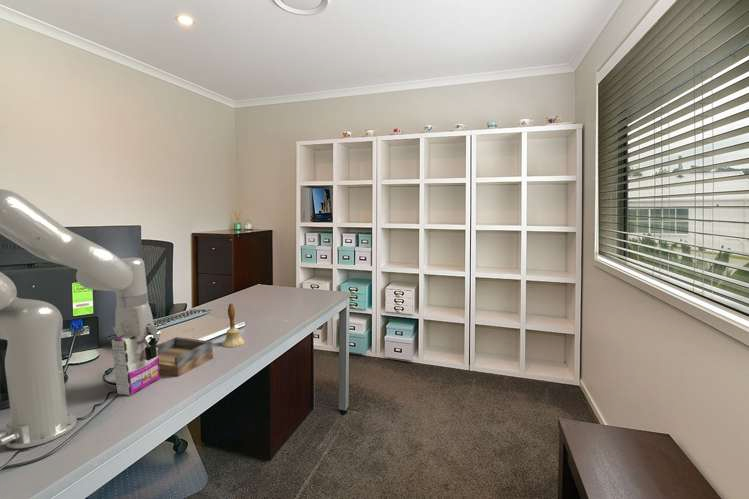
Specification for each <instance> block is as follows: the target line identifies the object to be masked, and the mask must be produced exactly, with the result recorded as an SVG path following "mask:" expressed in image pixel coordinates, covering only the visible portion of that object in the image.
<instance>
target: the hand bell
mask: <svg viewBox="0 0 749 499" xmlns="http://www.w3.org/2000/svg"><path fill="white" fill-rule="evenodd" d="M235 309H236V308H235V307H234V305H233V303H229V304H228V308H227V315H228V318H229V329H227V330H226V336H225V338H224V339H225V340H224V341H223V342H222V343H221V346H222V347H223V348H235V347H240V346H242V345H244V344H245V342H246V341H245V339H243V338H242V337H241V334H240V330H239V329H238V328H236V325H235V317H236V310H235Z"/></svg>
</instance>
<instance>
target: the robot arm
mask: <svg viewBox="0 0 749 499" xmlns="http://www.w3.org/2000/svg"><path fill="white" fill-rule="evenodd" d="M0 235H1V236H3V237H5V238H6V239H8V240H9V241H12V243H14V244H16V245H18V246H19V247H21V248H23V249H24V250H26V251H27V252H29V253H30V254H32V255H34V256H35V257H37V258H40V259H43V261H44V260H45V261H48V262H50V263H53V264H59V265H62V266H66V267H69V268H72V269H75V270H77V272H76V275H75V279H76V281H77V283H78V284H79V285H80V286H81V287H83V288H85V289H87V290H95V291H106V292H107V291H108V292H115V295H116V307H115V315H114V316H115V317H114V321H115V322H114V324H115V326H113V327H112V330H113V332H114V334H115V335H114V336H115V338H117V337H119V336H122V335H126V336H133V337H134V339H135V341H136V342H140V341H143V342H144V344H145V345H146V346H147V347H145V355H146V360H148V361H149V360H151V359H153V358H155V357H157V350H156V344H157V345H158V342H159V341H160V337H161V334H162V333H161V330H159V329H157V327H155V323H154V317H153V314H152V310H151V306H150V304H149V296H148V287H147V278H146V276H147V275H146V266H145V262H144V260H143V259H142V258H141V257H124V258H123V257H122V258H120V257H118V256H117V255H116V254H114V253H113V252H112V251H110V250H109V249H107V248H105V247H103V246H101V245H99V244H98V243H95V242H93V241H91V240H89V239H87V238H85V237H83V236H82V235H80V234H77V233H75V232H73V231H72V230H69V229H68V228H66V227H64V226H63V225H62V224H60V223H59V222H58V221H56V220H55V219H54V218H52V217H51V216H50V215H48V214H47V213H45V212H44V211H43V210H41V209H40V208H38V207H37V206H36V205H34V204H33V203H31V202H30V201H29V200H28V199H26V198H25V197H23V196H21V195H20V194H19V193H16V192H14V191H12V190H7V189H1V188H0ZM62 316H63V315H62V313H61V312H60V310H59V309H58V308H57V307H56V306H55V305H53V304H52V303H50V302H47V301H43V300H38V299H37V300H36V299H31V298H19V297H18V292H17V287H16V285H15V283H14V282H13V280H12V279H10V277H8V276H7V275H6V274H5V273H3V272H1V271H0V339H1V340H6V341H7V347H6V351H5V357H4V368H5V369H4V370H5V377H6V386H7V393H8V402H9V410H10V417H11V421H9V422H6V423H5V427H6V428H3V429H1V432H0V446H3V445H4V446H6V448H8V449H16V450H17V449H26V448H33V447H36V446H40V445H42V444H45V443H49V442H51V441H53V440H56V439H58V438H60V437H61V436H64V435H65V434H67V433H68V432H70V431H71V430H72V429H73V428H74V427H76V425H77V416H76V415H75V414H74V413H73V414H72V413H71V412H69V413H68V406H67V399H66V398H67V395H66V386H65V378H64V368H63V361H62V360H63V358H62V347H61V346H62V344H61V343H62V332H63V323H64V322H63V317H62ZM146 335H148V336H146ZM149 338H150V342H149V341H148V340H147V339H149Z"/></svg>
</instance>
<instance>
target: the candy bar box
mask: <svg viewBox="0 0 749 499" xmlns="http://www.w3.org/2000/svg"><path fill="white" fill-rule="evenodd" d="M146 336H148V335H146ZM147 340H148V341H149V342H150V338H149V339H147ZM157 345H158V343H157V344H156V350H157V357H155V358H153V359H151V360H149V361H148V360H146V355H145V347H147V346H146V345H145V344H144V342H143V341H140V342H136V341H135V339H134V337H133V336H126V335H122V336H119V337H117V338H116V337H114V338H112V339H111V347H112V348H111V349H112V357H113V358H112V359H113V365H114V374H115V384H116V393H117V395H121V396H133V395H134V394H136V393H138V392H140V391H141V390H143V389H144V388H146V387H149V385H151V384H153V383H154V382H156V381H159V379H161V373H160V370H159V359H158V348H157Z"/></svg>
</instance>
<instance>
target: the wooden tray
mask: <svg viewBox="0 0 749 499" xmlns="http://www.w3.org/2000/svg"><path fill="white" fill-rule="evenodd" d="M157 348H158V359H159V370H160V375H161V374H162V375H168V376H172V377H173V376H174V377H181V376H182V375H184V374H186V373H188V372H190V371H191V370H194V369H195V368H196V367H199V366H201V365H202V364H205V363H206V362H209V361H210V360H212V359H213V358H214V351H213V341H210V340H202V339H194V338H193V339H192V338H185V337H178V336H176V337H174V338H171V339H169V340H165V341H163V342H161V343H159V344H158V343H157Z"/></svg>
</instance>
